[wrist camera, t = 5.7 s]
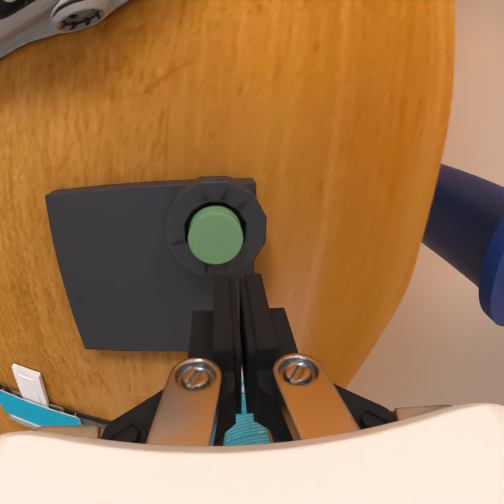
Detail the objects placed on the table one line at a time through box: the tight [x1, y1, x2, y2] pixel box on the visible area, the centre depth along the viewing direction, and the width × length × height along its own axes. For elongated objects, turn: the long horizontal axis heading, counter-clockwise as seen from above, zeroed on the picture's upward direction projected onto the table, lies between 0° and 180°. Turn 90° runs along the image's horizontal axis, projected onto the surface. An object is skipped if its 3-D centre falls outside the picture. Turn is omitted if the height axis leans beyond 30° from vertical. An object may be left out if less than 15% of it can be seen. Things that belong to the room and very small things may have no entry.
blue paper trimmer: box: [0, 363, 110, 429], centre depth 26 cm, size 20×12×2 cm, turn 74°
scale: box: [45, 176, 266, 351], centre depth 20 cm, size 14×13×3 cm
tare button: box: [188, 205, 243, 264], centre depth 18 cm, size 3×3×2 cm
